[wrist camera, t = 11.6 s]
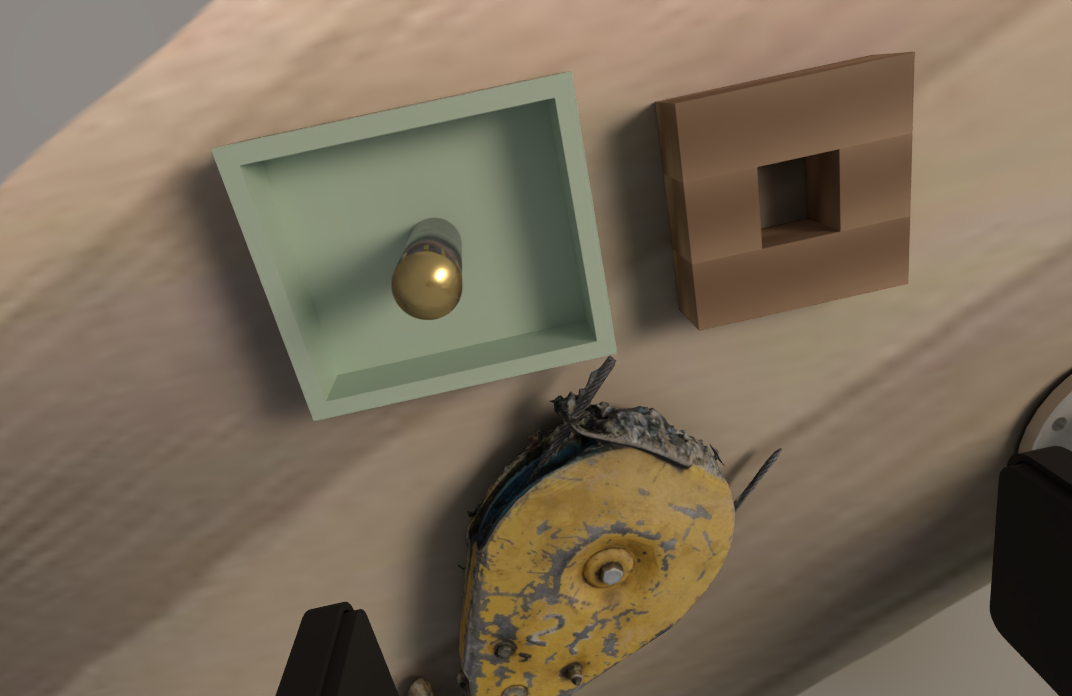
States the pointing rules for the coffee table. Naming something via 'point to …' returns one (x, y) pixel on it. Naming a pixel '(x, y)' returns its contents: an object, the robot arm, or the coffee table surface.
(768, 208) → the coffee table surface
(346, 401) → the tray
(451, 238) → the pin
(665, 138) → the block
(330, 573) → the coffee table surface
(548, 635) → the pulley block
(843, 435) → the coffee table surface
